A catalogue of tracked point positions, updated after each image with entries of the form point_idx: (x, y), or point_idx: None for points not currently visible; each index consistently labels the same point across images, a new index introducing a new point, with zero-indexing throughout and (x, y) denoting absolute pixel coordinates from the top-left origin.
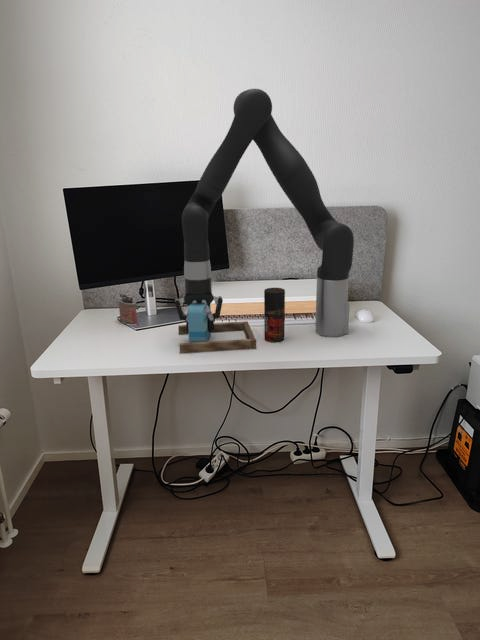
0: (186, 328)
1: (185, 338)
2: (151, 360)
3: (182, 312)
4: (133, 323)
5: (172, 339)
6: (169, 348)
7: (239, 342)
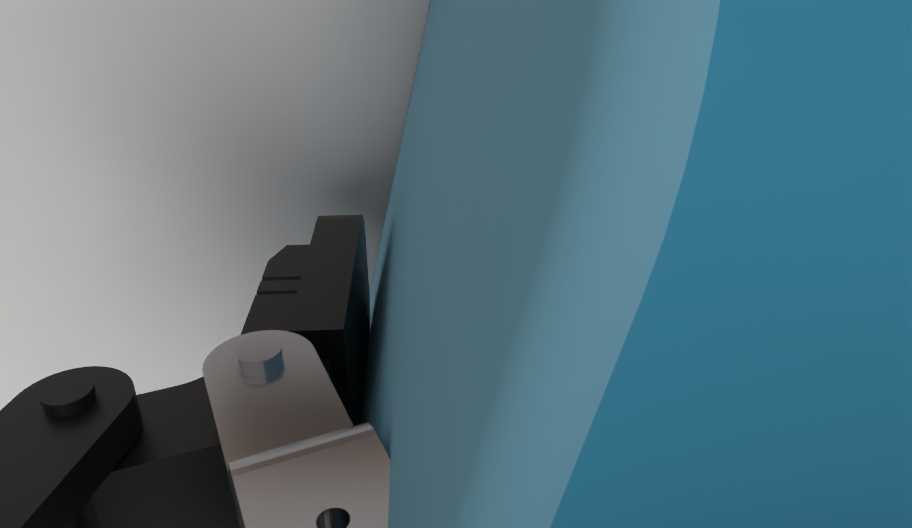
0: (268, 273)
1: (265, 20)
2: None
3: (71, 517)
4: None
5: (50, 33)
6: (93, 362)
7: None
